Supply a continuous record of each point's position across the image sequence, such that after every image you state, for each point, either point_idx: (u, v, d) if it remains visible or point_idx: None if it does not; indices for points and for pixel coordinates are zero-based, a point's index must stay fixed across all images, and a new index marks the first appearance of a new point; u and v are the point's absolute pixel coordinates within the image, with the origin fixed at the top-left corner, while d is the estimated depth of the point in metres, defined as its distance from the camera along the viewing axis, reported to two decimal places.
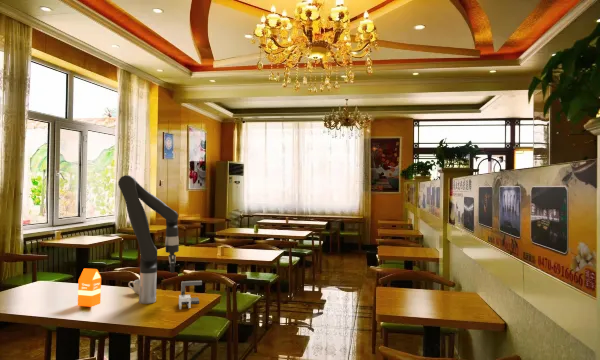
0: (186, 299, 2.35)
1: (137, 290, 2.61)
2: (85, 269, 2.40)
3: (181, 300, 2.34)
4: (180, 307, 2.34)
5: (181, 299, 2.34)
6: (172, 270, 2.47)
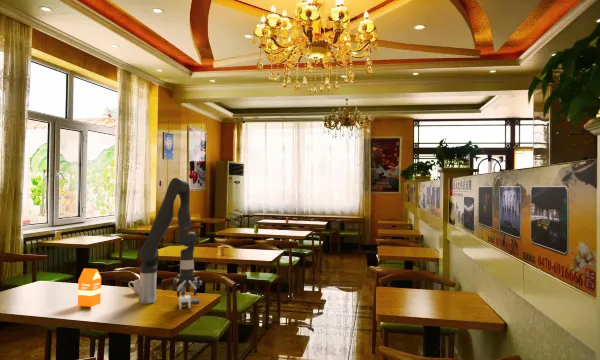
0: (186, 299, 2.35)
1: (137, 290, 2.61)
2: (85, 269, 2.40)
3: (181, 300, 2.34)
4: (180, 307, 2.34)
5: (180, 299, 2.34)
6: None
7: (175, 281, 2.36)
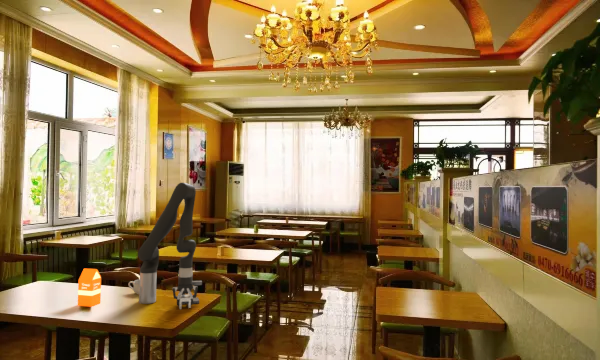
0: (186, 299, 2.35)
1: (137, 290, 2.61)
2: (85, 269, 2.40)
3: (181, 300, 2.34)
4: (180, 307, 2.34)
5: (181, 298, 2.34)
6: None
7: (173, 290, 2.35)
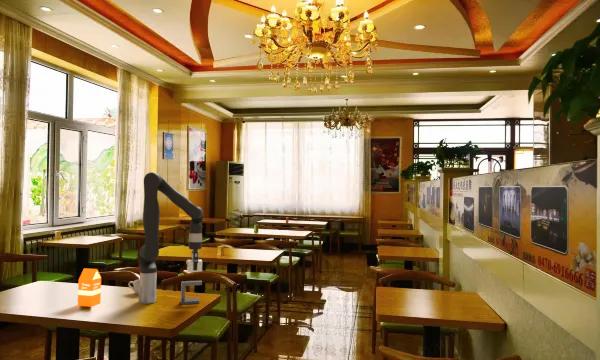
0: (201, 261, 2.51)
1: (137, 290, 2.61)
2: (85, 269, 2.40)
3: None
4: (201, 269, 2.48)
5: None
6: None
7: None
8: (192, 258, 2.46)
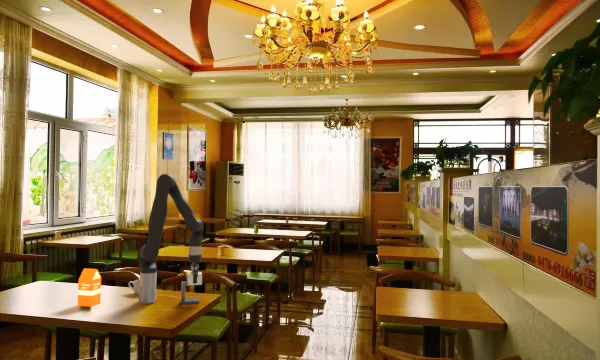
0: None
1: (137, 290, 2.61)
2: (85, 269, 2.40)
3: (201, 275, 2.49)
4: (201, 282, 2.48)
5: None
6: None
7: None
8: (192, 271, 2.46)
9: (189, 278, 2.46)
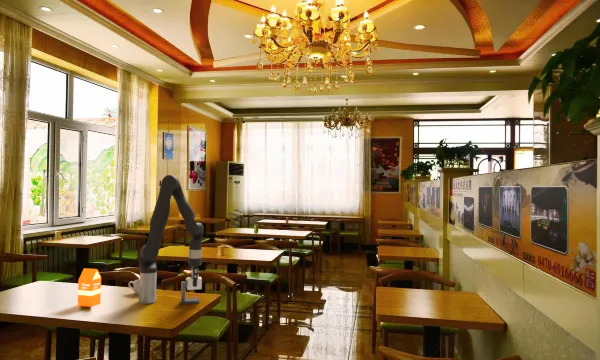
0: None
1: (137, 290, 2.61)
2: (85, 269, 2.40)
3: (201, 280, 2.49)
4: (201, 287, 2.48)
5: (201, 279, 2.48)
6: None
7: (197, 271, 2.44)
8: (192, 274, 2.46)
9: (189, 283, 2.45)
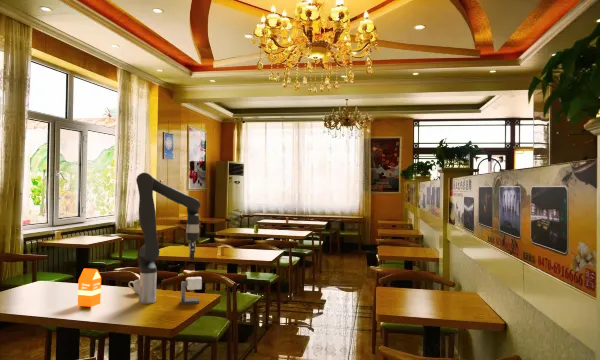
0: None
1: (137, 290, 2.61)
2: (85, 269, 2.40)
3: (201, 280, 2.49)
4: (201, 287, 2.48)
5: (201, 279, 2.48)
6: None
7: (194, 244, 2.50)
8: (189, 248, 2.52)
9: (189, 283, 2.45)
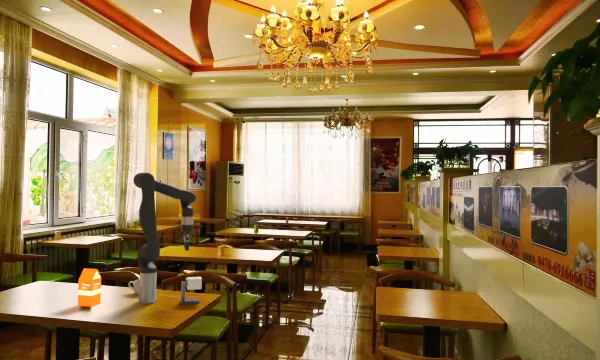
0: None
1: (137, 290, 2.61)
2: (85, 269, 2.40)
3: (201, 280, 2.49)
4: (201, 287, 2.48)
5: (201, 279, 2.48)
6: None
7: (189, 236, 2.61)
8: (184, 239, 2.62)
9: (189, 283, 2.45)
